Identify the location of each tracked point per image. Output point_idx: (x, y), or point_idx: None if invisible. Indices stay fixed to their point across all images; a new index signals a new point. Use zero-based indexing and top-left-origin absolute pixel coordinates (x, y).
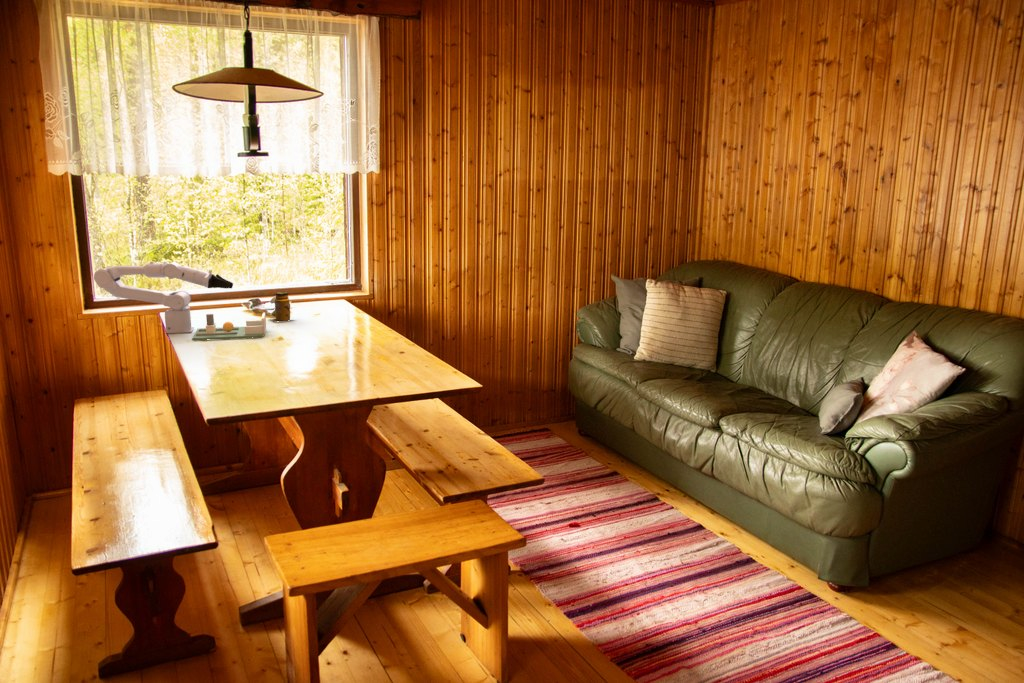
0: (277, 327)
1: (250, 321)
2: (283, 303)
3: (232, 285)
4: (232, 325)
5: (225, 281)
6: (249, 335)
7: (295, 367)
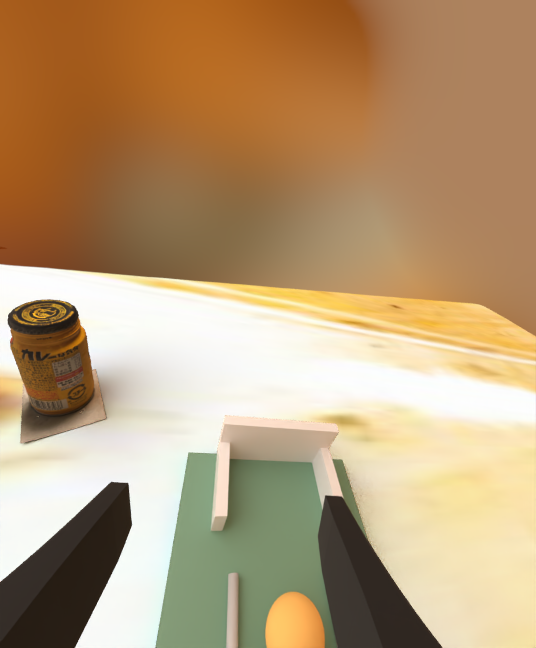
0: (190, 419)
1: (227, 495)
2: (85, 345)
3: (128, 501)
4: (303, 595)
5: (349, 535)
6: (352, 508)
7: None
